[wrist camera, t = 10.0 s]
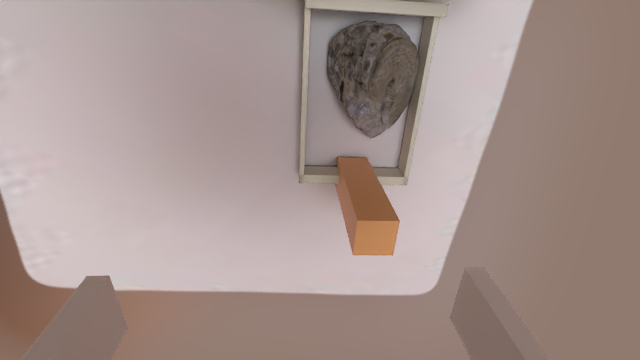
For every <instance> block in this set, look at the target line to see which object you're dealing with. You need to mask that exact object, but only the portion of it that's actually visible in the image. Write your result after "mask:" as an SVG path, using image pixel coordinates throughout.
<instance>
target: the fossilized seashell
mask: <svg viewBox="0 0 640 360" xmlns="http://www.w3.org/2000/svg"><path fill="white" fill-rule="evenodd" d="M418 68H419V55H418V50H417V47H416V45H415V44H414V43H413V42H412V41H410V37H409V36H408V35H407V34H406V32H405V31H404V30H403V29H402V28H401V27H400V26H398V25H396V24H391V25H384V24H383V23H381V24H378V23H377V22H376V21H364V22H361V23H359V24H356V25H350V26H349V27H348V28H345V29H344V30H342V31H340V32H339V33H338V34H337V35H336V36H335V37H334V38H333V39H332V42H330V44H329V52H328V73H329V76H330V81H331V83H332V85H333V87H334V88H335V90H336V91H337V92H338V94H337V95H338V98H339V100H340V101H341V102H342V103H343V106H344V107H346V112H347V114H348V116H349V117H350V118H352V119H353V121H354V123H355V125H356V128H358V129H360V130H362V131H363V133H364V134H365V135H367V136H368V137H370V138H374V137H376V136H377V135H380V134H382V133H383V132H384V131H385V130H386V129H387V128H390V127H391V126H392V125H393V124H394V123H395V122H396V121H397V119H398V118H399V117H400V115H401V114H402V112H403V111H404V109H405V108H406V106H407V104H408V103H409V101H410V98H411V96H412V93H413V89H414V86H415V82H416V78H417V73H418Z"/></svg>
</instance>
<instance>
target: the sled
mask: <svg viewBox="0 0 640 360" xmlns="http://www.w3.org/2000/svg"><path fill="white" fill-rule="evenodd" d="M448 6H449V4H440V3H426V2H412V1H398V0H305V4H304V34H303V65H302V96H301V127H300V158H299V183H329V184H336V188H337V192H338V196H339V200H340V204H341V208H342V213H343V217H344V221H345V225H346V229H347V233H348V237H349V241H350V245H351V249H352V253H353V255H393V253H394V248H395V243H396V238H397V233H398V228H399V222H400V221H399V219H398V217H397V215H396V213H395V211H394V209H393V207H392V205H391V203H390V201H389V199H388V198H387V196H386V194H385V192H384V190H383V188H382V186H381V185H407V182H408V177H409V171H410V166H411V161H412V156H413V151H414V146H415V141H416V136H417V130H418V125H419V120H420V115H421V110H422V105H423V100H424V95H425V89H426V84H427V79H428V74H429V69H430V64H431V59H432V54H433V48H434V43H435V38H436V33H437V28H438V23H439V18H440V17H446V16H447V11H448ZM311 9H312V10H327V11H342V12H357V13H371V14H386V15H401V16H416V17H425V19H424V24H423V30H422V36H421V41H420V47H419V53H418V55H419V68H418V73H417V78H416V82H415V86H414V89H413V93H412V96H411V98H410V103H409V109H408V115H407V120H406V126H405V132H404V137H403V143H402V148H401V154H400V160H399V165H398V168H372V167H371V165H370V163H369V161H368V159H367V158H349V157H338V160H337V167H322V166H304V161H305V136H306V111H307V86H308V61H309V36H310V10H311Z"/></svg>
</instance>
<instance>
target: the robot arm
mask: <svg viewBox="0 0 640 360" xmlns="http://www.w3.org/2000/svg"><path fill="white" fill-rule="evenodd" d="M450 319H451V321H452V323H453V325H454V327H455V329H456V331H457V333H458V335H459V337H460V339H461V341H462V342H463V345H464V347H465V349H466V351H467V353H468V355H469V357H470V359H471V360H552V359H551V358H550V356H549V355H548V354H547V352H546V351H545V350H544V348H543V347H542V345H541V344H540V343H539V341H538V340H537V339H536V337H535V336H534V335H533V333H532V332H531V330H530V329H529V328H528V326H527V325H526V324H525V322H524V321H523V320H522V318H521V317H520V316H519V314H518V313H517V311H516V310H515V309H514V307H513V306H512V305H511V303H510V302H509V300H508V299H507V298H506V296H505V295H504V294H503V292H502V291H501V290H500V288H499V287H498V286H497V284H496V283H495V281H494V280H493V279H492V277H491V276H490V275H489V273H488V272H487V271H486V269H485V268H484V267H469V268H465V269H464V272H463V275H462V279H461V282H460V285H459V289H458V292H457V295H456V299H455V302H454V305H453V308H452V312H451V315H450ZM127 329H128V327H127V324H126V321H125V318H124V316H123V313H122V310H121V307H120V304H119V302H118V299H117V296H116V293H115V290H114V287H113V285H112V282H111V279H110V276H87V277H86V278H85V279H84V280H83V282H82V283H81V284H80V285H79V287H78V288H77V289H76V290H75V292H74V293H73V294H72V295H71V297H70V298H69V299H68V300H67V302H66V303H65V304H64V305H63V307H62V308H61V309H60V310H59V312H58V313H57V314H56V315H55V317H54V318H53V319H52V320H51V322H50V323H49V324H48V325H47V327H46V328H45V329H44V330H43V332H42V333H41V334H40V336H39V337H38V338H37V339H36V341H35V342H34V343H33V344H32V346H31V347H30V348H29V349H28V351H27V352H26V353H25V354H24V355H23V357H22V358H21V359H20V360H111V359H112V357H113V355H114V353H115V351H116V350H117V348H118V346H119V344H120V342H121V340H122V338H123V337H124V335H125V333H126V331H127Z"/></svg>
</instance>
